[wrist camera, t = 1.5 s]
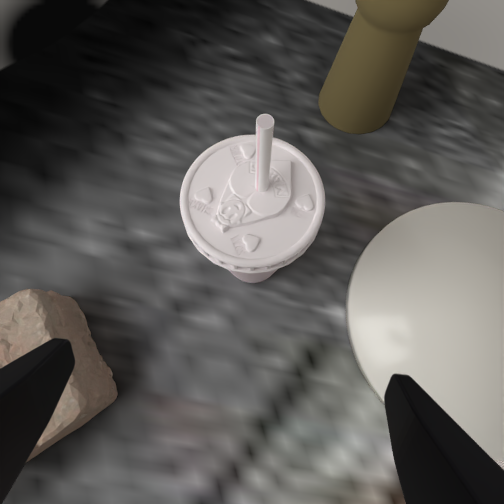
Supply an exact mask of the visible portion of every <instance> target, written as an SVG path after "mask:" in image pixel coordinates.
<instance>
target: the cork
mask: <svg viewBox="0 0 504 504" xmlns="http://www.w3.org/2000/svg"><path fill="white" fill-rule="evenodd" d="M448 1H449V0H356V4H357V7H358V9H357V11H356V13H355V15H354V18H353V20H352V22H351V24H350V27H349V29H348V31H347V33H346V36H345V38H344V40H343V42H342V45H341V47H340V49H339V51H338V54H337V56H336V58H335V60H334V63H333V65H332V67H331V69H330V72H329V74H328V76H327V78H326V81H325V83H324V85H323V87H322V90H321V92H320V94H319V107H320V110H321V113H322V115H323V116H324V118H325V119H326V120H327V121H328V123H330V124H331V125H333V126H334V127H335V128H337V129H339V130H342V131H344V132H347V133H353V134H364V133H369V132H373V131H375V130H377V129H379V128H381V127H382V126H383V125H384V124H385V123H386V122H387V121H388V120H389V117H390V115H391V112H392V109H393V107H394V104H395V101H396V99H397V96H398V93H399V91H400V88H401V85H402V83H403V80H404V77H405V75H406V72H407V69H408V67H409V64H410V61H411V59H412V56H413V53H414V51H415V48H416V45H417V43H418V40H419V37H420V35H421V32H422V29H423V28H424V27H426V26H427V25H429V24H430V23H431V22H432V21H433V20H434V19H435V18H436V17H437V16H438V15H439V14H440V12H441V11H442V10H443V9H444V8H445V6H446V4H447V2H448Z"/></svg>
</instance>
